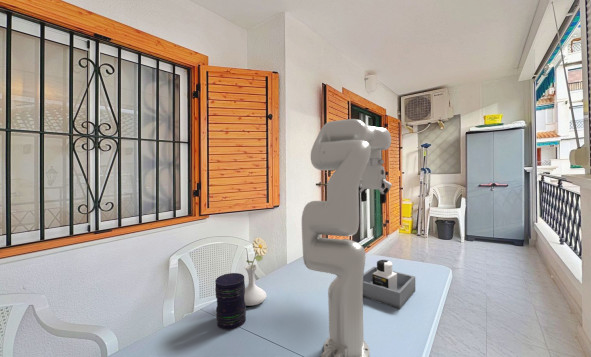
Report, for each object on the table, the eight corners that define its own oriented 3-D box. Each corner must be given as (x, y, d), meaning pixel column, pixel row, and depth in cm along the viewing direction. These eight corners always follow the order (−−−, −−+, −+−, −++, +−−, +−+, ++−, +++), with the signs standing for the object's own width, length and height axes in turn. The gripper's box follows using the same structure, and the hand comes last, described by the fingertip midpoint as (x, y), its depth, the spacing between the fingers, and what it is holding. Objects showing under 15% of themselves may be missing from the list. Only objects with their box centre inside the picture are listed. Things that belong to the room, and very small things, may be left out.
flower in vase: (246, 312, 94) (244, 244, 93) (232, 300, 103) (230, 238, 102) (275, 300, 102) (273, 237, 101) (260, 290, 111) (258, 232, 110)
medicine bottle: (372, 290, 106) (371, 261, 106) (381, 284, 111) (381, 257, 111) (388, 296, 101) (388, 266, 101) (397, 290, 106) (397, 261, 105)
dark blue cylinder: (211, 329, 85) (209, 284, 84) (223, 312, 94) (222, 272, 94) (240, 331, 83) (238, 285, 83) (250, 314, 93) (248, 273, 92)
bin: (399, 309, 93) (399, 293, 93) (355, 294, 105) (354, 279, 105) (415, 290, 107) (415, 276, 107) (374, 279, 119) (373, 266, 118)
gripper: (395, 162, 108) (396, 203, 109) (361, 163, 121) (362, 199, 122) (385, 162, 103) (386, 205, 104) (351, 164, 117) (352, 201, 117)
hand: (373, 202), depth 113 cm, fingers open, 9 cm apart
